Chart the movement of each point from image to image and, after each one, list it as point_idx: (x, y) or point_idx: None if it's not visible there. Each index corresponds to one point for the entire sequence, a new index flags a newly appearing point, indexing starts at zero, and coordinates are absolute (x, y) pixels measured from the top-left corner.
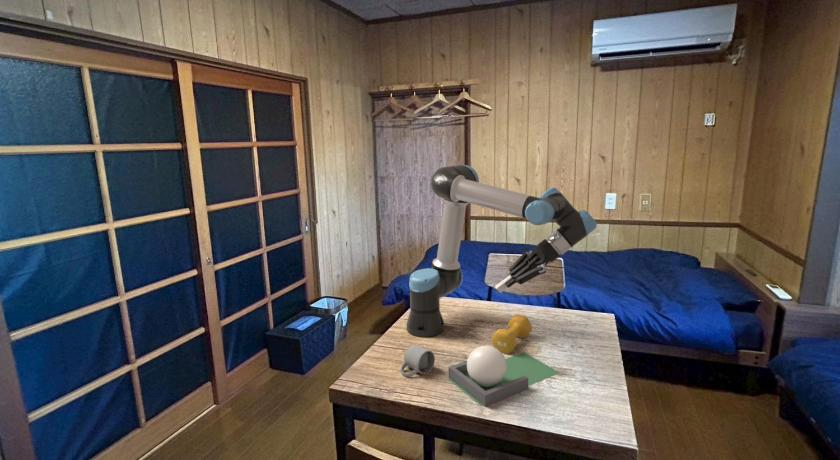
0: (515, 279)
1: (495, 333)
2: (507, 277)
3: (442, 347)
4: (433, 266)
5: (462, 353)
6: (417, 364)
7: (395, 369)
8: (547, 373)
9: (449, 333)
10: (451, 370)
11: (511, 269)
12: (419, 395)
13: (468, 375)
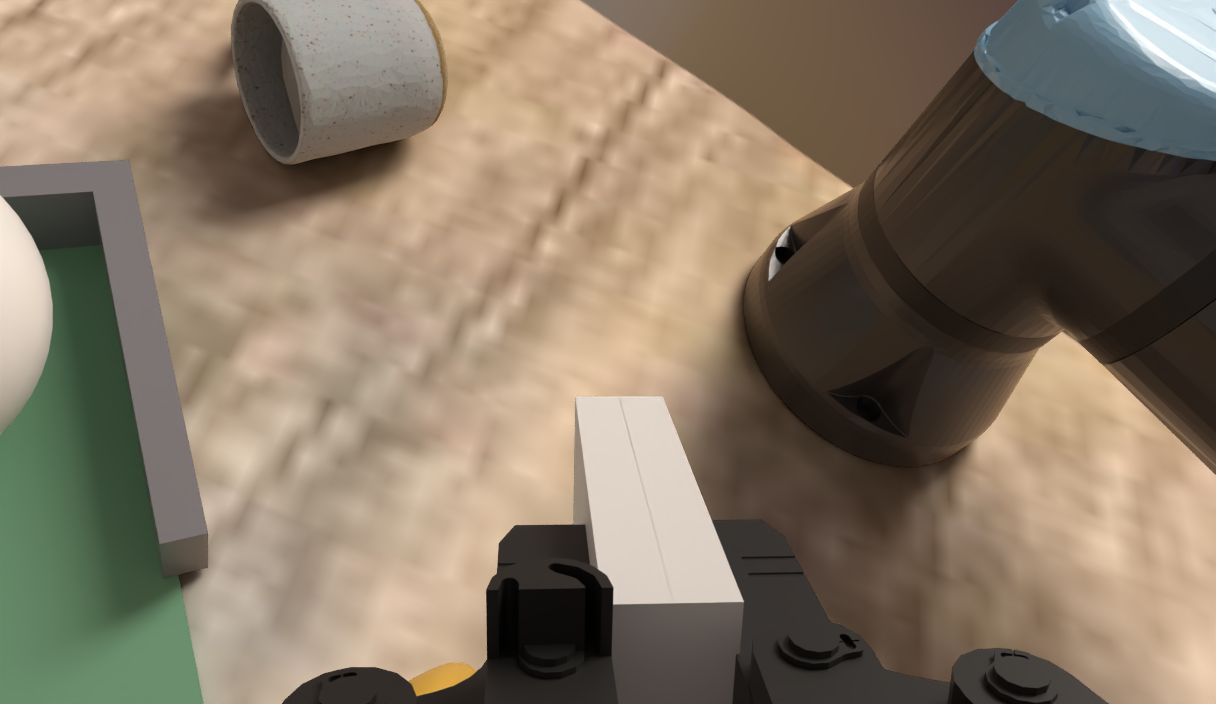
0: (455, 701)
1: (443, 671)
2: (685, 548)
3: (578, 343)
4: None
5: (451, 435)
6: (238, 12)
7: None
8: None
9: (784, 466)
10: (83, 166)
11: (965, 697)
12: (22, 17)
13: (88, 336)
